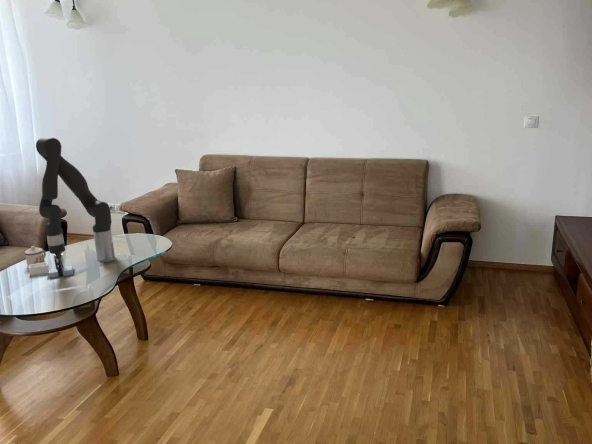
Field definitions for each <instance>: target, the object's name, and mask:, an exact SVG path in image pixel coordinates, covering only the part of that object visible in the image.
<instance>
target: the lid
mask: <svg viewBox="0 0 592 444" xmlns="http://www.w3.org/2000/svg"><path fill="white" fill-rule="evenodd" d="M73 269H74V267H73V265H67V266H63V267H62V270H63V276H66V275H73ZM53 277H59V276H58V270H57V269H56V267H55V268H49V278H53Z"/></svg>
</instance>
